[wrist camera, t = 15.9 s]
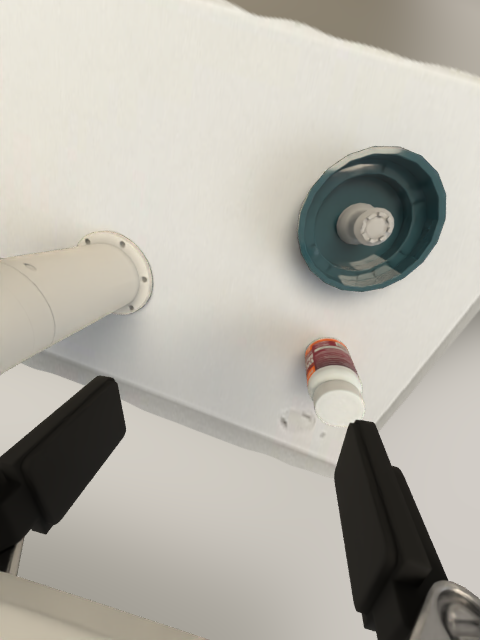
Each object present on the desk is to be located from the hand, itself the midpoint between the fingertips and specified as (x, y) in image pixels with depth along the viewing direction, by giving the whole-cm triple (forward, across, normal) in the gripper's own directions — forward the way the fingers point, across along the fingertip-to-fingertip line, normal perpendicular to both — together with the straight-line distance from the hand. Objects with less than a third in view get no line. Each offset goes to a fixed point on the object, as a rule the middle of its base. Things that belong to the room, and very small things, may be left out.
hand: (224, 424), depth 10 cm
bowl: (+26, -9, -7) cm, 29 cm away
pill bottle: (+26, -9, +11) cm, 30 cm away
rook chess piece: (+26, -9, -7) cm, 28 cm away
